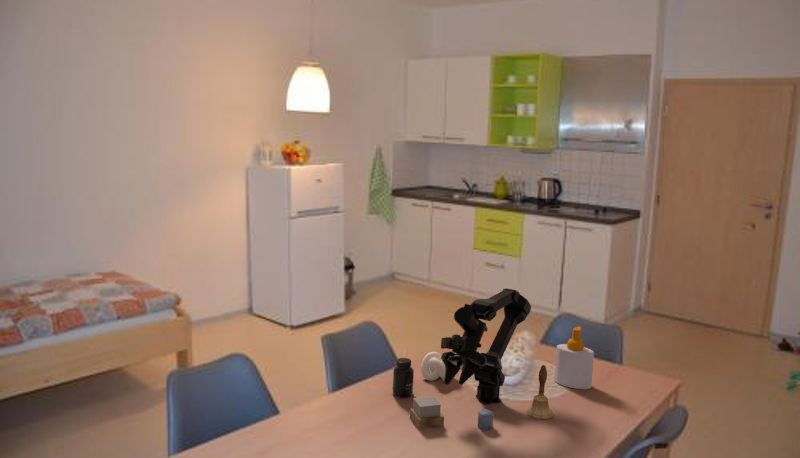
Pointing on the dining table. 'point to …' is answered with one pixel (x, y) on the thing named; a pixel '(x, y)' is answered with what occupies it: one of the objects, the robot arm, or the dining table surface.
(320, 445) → the dining table surface
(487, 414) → the grey rounded cylinder
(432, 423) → the walnut slab
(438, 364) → the white knot sculpture
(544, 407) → the hand bell
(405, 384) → the supplement bottle
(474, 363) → the robot arm
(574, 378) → the soap bottle
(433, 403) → the grey slab
